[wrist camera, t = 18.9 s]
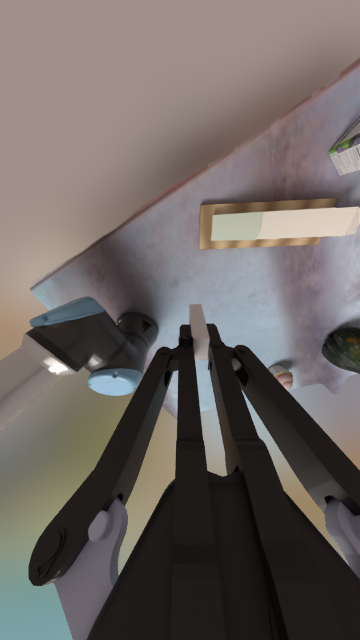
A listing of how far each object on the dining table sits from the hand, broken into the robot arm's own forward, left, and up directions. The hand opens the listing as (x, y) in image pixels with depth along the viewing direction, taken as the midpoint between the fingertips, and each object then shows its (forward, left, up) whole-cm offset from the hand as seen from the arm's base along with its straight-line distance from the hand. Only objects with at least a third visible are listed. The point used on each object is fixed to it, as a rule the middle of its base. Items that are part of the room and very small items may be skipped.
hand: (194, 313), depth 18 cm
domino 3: (+15, +9, -24) cm, 30 cm away
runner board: (+18, +9, -26) cm, 33 cm away
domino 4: (+20, +9, -24) cm, 33 cm away
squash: (+57, -29, -27) cm, 69 cm away
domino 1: (+6, +9, -25) cm, 27 cm away
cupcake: (+39, -46, -27) cm, 66 cm away
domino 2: (+11, +9, -24) cm, 28 cm away
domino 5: (+24, +9, -25) cm, 36 cm away
